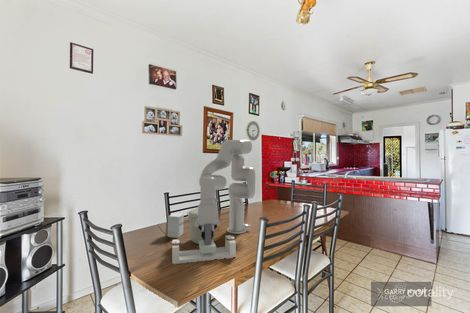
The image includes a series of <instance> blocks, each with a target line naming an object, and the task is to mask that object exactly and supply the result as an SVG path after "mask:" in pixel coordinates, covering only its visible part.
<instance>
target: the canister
mask: <svg viewBox="0 0 470 313" xmlns="http://www.w3.org/2000/svg"><path fill="white" fill-rule="evenodd" d="M197 212H198V207H197V208H193V209H190V210H189V211H188V212H187V213H186V216H188V228H189V234H190V235H189V236H190V240H191V242H193V243H194V244H196V245H199V240H203V238H202V237H201V230H200V229H199V228H197V227H195V226H194V224H195V222H196V220H197ZM219 214H220V213H219V211H218V215H219ZM200 226H201V225H200ZM216 229H217V228H216ZM216 229H215V230H214V236H213V237H212V239H213V241H215V240H214V239H215V236H216V231H217V230H216Z"/></svg>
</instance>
